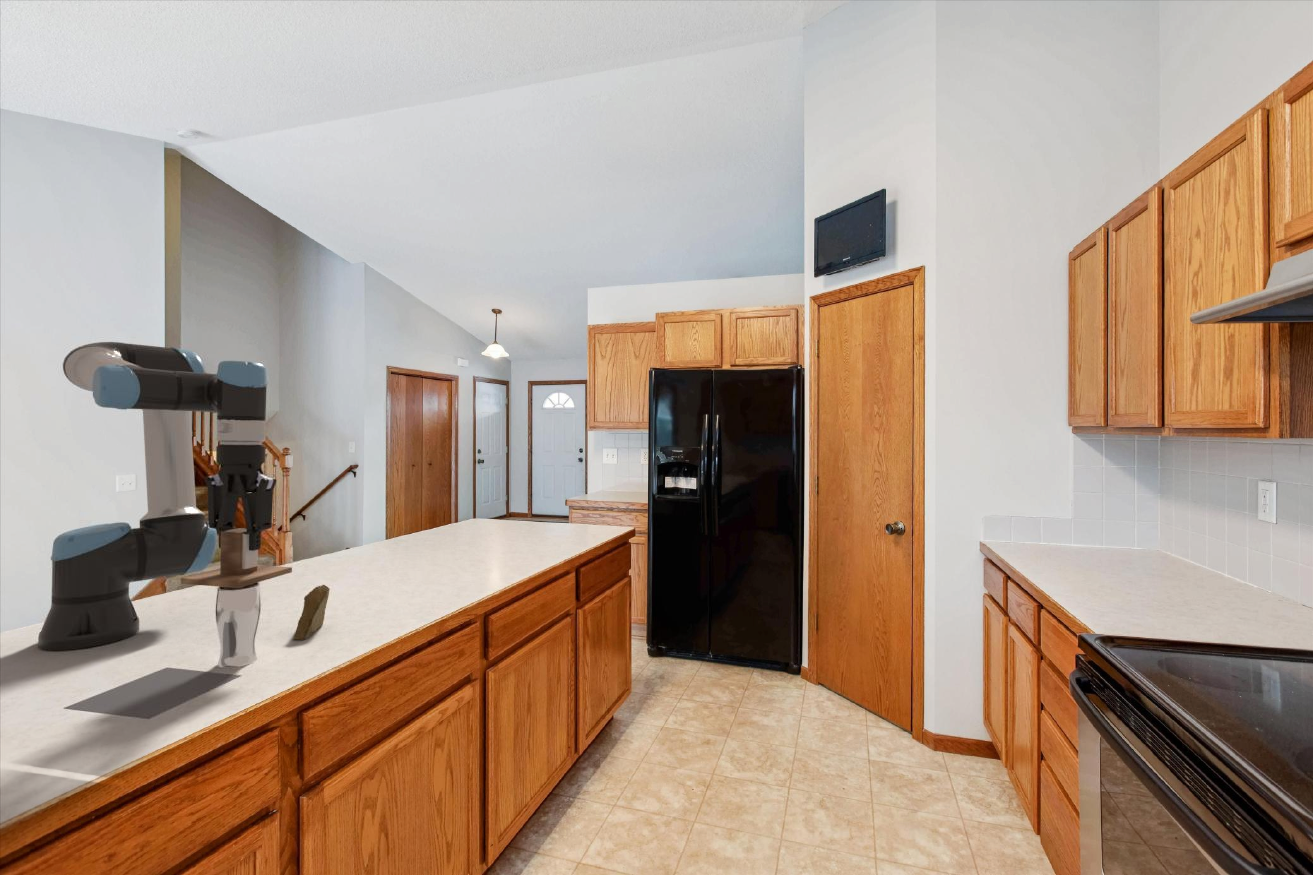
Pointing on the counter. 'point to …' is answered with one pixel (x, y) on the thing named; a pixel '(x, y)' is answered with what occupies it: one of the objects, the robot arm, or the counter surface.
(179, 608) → the counter surface
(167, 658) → the counter surface
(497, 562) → the counter surface
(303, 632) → the rock
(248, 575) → the lid
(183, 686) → the mat
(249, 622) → the beer glass
